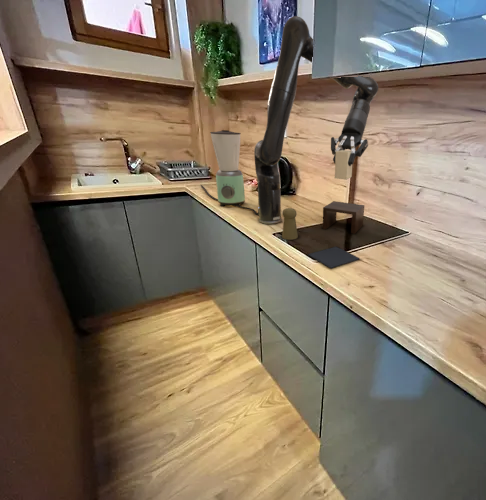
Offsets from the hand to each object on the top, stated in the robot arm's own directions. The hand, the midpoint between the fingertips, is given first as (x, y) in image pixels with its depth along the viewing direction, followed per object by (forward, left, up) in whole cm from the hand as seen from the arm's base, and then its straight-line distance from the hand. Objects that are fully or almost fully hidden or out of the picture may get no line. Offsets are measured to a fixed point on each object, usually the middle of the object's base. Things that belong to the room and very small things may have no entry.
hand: (342, 163), depth 104 cm
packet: (-1, +2, -5) cm, 5 cm away
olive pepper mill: (-12, -14, -28) cm, 34 cm away
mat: (+12, -12, -28) cm, 33 cm away
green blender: (-69, -13, -28) cm, 76 cm away
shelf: (-10, +11, -28) cm, 32 cm away
